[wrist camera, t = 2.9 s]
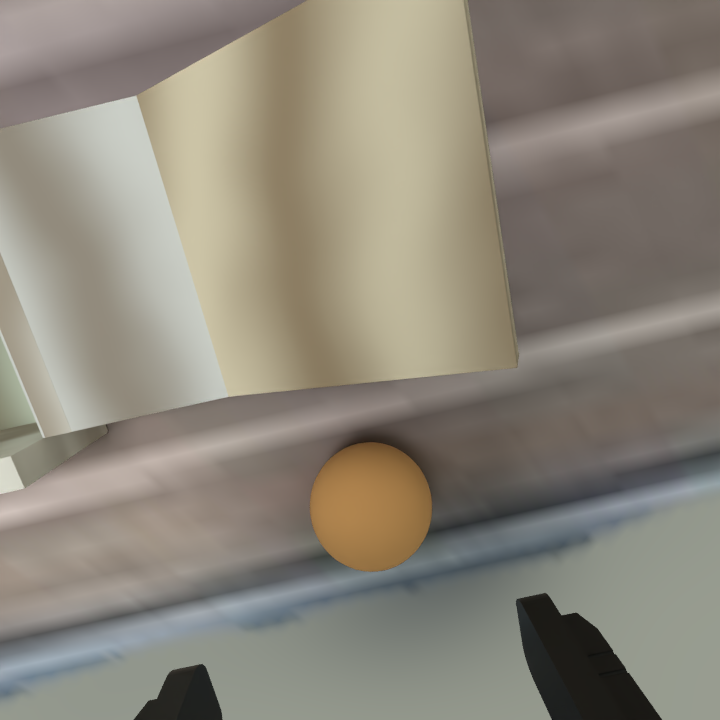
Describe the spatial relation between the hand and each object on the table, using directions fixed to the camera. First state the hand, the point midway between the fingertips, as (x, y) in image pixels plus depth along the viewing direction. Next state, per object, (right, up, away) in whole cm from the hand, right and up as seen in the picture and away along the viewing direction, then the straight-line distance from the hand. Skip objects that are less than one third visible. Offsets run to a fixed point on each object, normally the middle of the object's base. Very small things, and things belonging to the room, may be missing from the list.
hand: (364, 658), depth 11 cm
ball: (0, +2, +7) cm, 7 cm away
